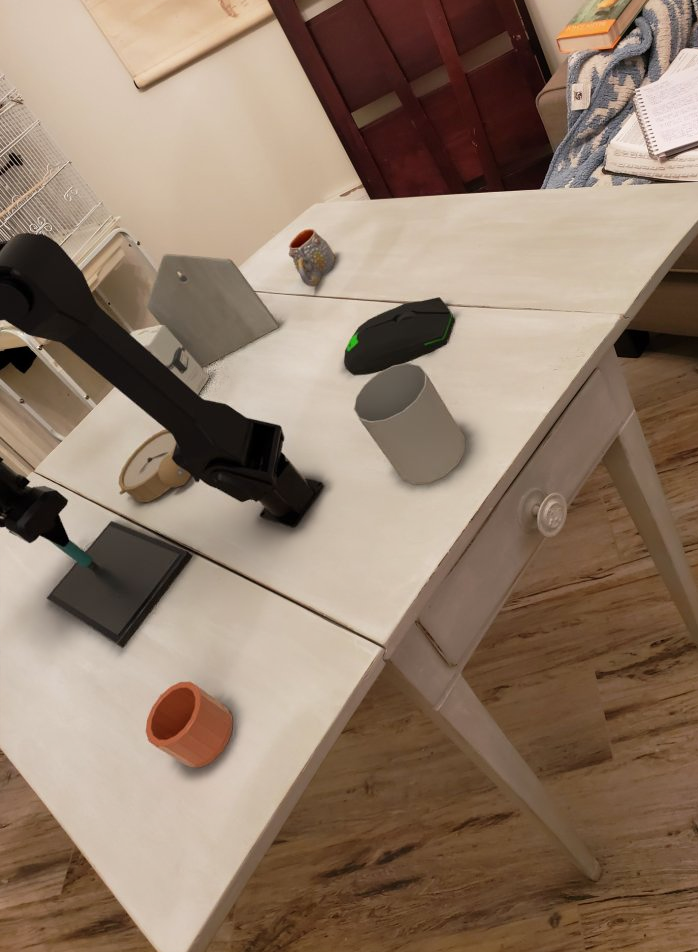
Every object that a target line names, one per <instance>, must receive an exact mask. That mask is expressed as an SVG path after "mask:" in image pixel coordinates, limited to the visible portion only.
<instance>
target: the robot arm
mask: <svg viewBox="0 0 698 952" xmlns="http://www.w3.org/2000/svg"><path fill="white" fill-rule="evenodd" d="M0 321H5V322H7V323H8V324H10V325H11V326H13V327H14V328H16V329H17V330H19V331H21V332H23V333H24V334H26V335H27V336H30V337H35V338H39V339H44V340H48V341H53V342H57V343H60V344H62V345H63V346H65V347H66V348H67V349H68V350H70V351H71V352H72V353H73V354H75V355H76V356H77V357H78V358H80V360H82V361H83V362H84V363H85V364H87V365H88V366H89V367H90V368H91V369H93V370H94V371H95V372H96V373H97V374H99V375H100V376H101V377H103V379H105V380H106V381H107V382H109V384H110V385H112V386H113V387H114V388H116V389H117V390H118V391H119V392H120V393H121V394H123V395H124V396H125V397H127V398H128V400H130V401H131V402H133V403H134V404H135V405H136V406H137V407H138V408H140V409H141V410H142V411H143V412H144V413H146V414H147V415H148V416H149V417H151V419H153V420H154V421H155V422H157V424H159V425H160V426H161V427H163V428H164V430H165V429H166V430H168V431H169V432H170V433H171V434H172V435H173V437H174V439H175V441H176V446H175V449H174V452H173V455H172V460H173V461H174V462H175V463H176V465H178V466H179V467H181V468H183V469H184V470H186V471H187V472H189V473H190V474H191V477H192V478H193V480H194V481H195V482H196V483H199V482H200V480H201V481H202V482H203V483H204V484H205V485H207V486H208V487H211V488H214V489H217V490H218V491H221V492H222V493H224V494H226V495H227V496H229V497H231V498H232V499H235V500H237V501H238V502H239V503H245V502H247V501H253V502H255V503H257V502H259V503H260V504H261V505H262V506H263V509H262V510H261V512H260V513H259V518H261V519H262V520H264V521H267V522H271V523H274V524H278V525H282V526H284V527H288V528H291V529H294V528H296V527H297V526H298V525H299V523H300V522H301V521H302V519H303V518H304V516H306V513H307V512H308V511H309V509H310V508H311V506H312V505H313V504H314V502H315V501H316V499H317V498H318V496H319V495H320V494H321V492H322V491H323V489H324V487H325V484H324V483H323V482H322V481H319V480H315V479H310V478H306V477H304V476H303V475H302V474H301V473H300V471H299V470H298V469H297V468H296V466H295V465H294V464H293V463H292V461H290V459H289V458H288V457H287V455H285V454H284V453H283V446H284V442H285V434H284V431H283V428H282V425H280V424H276V423H272V422H267V421H263V420H258V419H254V418H251V417H250V418H249V417H247V416H244V414H242V413H241V412H239V411H237V410H236V409H234V408H233V407H232V406H230V405H229V404H227V403H223V402H218V401H214V400H209V399H204V398H202V397H201V396H200V395H199V394H198V395H197V394H196V393H195V392H194V391H193V390H192V389H191V388H190V387H188V386H187V385H186V384H185V383H184V382H183V381H182V380H181V379H179V378H178V377H177V376H176V375H175V374H174V373H173V372H172V371H171V370H169V369H168V368H167V367H166V366H165V365H164V364H163V363H162V362H160V361H159V360H158V359H157V358H156V357H155V356H154V355H153V354H152V353H150V352H149V351H148V350H147V349H146V348H145V347H144V346H143V345H141V344H140V343H139V342H138V341H137V340H136V339H135V338H134V337H133V336H131V335H130V334H131V333H129V332H128V330H126V329H125V328H124V327H123V326H122V325H120V323H118V322H117V321H116V320H115V319H114V318H112V316H110V315H109V314H108V313H107V312H106V311H105V310H104V309H102V308H101V306H100V305H99V303H97V301H96V298H95V297H94V294H93V292H92V290H91V288H90V286H89V283H88V282H87V279H86V277H85V275H84V273H83V271H82V270H81V269H80V268H79V266H78V265H77V263H75V261H74V260H73V259H72V258H71V257H70V255H68V254H67V252H66V251H65V249H63V247H62V246H61V245H60V244H59V243H58V242H57V241H55V240H54V239H53V238H51V237H50V236H47V235H45V234H43V233H39V234H38V233H32V232H23V233H17V234H16V235H14V236H12V237H10V239H8V240H1V241H0ZM4 460H5V459H4V458H3V457H1V456H0V528H5V529H6V530H7V531H8V533H10V534H11V535H13V536H14V537H17V538H19V539H20V540H23V541H24V542H26V543H28V544H31V543H34V542H35V541H36V540H37V539H39V537H42V538H43V539H45V540H47V541H49V540H50V541H52V542H54V543H56V544H58V545H60V546H62V547H65V546H66V545H67V544H68V543H69V541H70V540H71V539H70V538H69V535H68V533H67V530H66V528H65V525H64V523H63V522H62V518H61V516H60V514H61V512H62V511H63V510H64V509H65V508H66V507H67V506H68V503H69V499H68V498H66V496H64V495H63V494H61V492H59V491H58V490H57V489H54V488H51V487H49V486H46V485H39V486H32V487H31V486H29V484H30V483H31V480H30V479H28V478H27V477H26V476H24V475H21V474H20V473H17V472H15V471H14V469H12V468H11V467H9V466H8V465H7V464H6V463H5V462H4ZM50 541H49V542H50Z"/></svg>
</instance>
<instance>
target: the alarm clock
mask: <svg viewBox="0 0 698 952" xmlns="http://www.w3.org/2000/svg"><path fill="white" fill-rule="evenodd" d="M175 446H176V441H175V439H174V437H173V435H172V434H171V433H170V432H169V431H168V430H166V429H165V428H164V429H162V430H160V431H159V432H156V433H154V434H153V435H152V436H150V437H149V438H147V439H146V440H145V441H143V443H141V444H140V445H139V446H138V447H137V448H136V449H135V450H134V452H132V454H131V455H130V456H129V457H128V459H127V460H126V462H125V464H124V465H123V467H122V469H121V471H120V473H119V476H118V485H119V488H120V489H121V490H120V491H119V495H120V496H121V495H123V494H125V493H126V494H128V495H129V496H130V497H131V498H133V499H134V501H136V502H139V503H147V502H151V501H154V500H155V499H157V498H159V497H161V496H163V494H165V493H166V492H168V491H169V490H170V489H171V488H179V487H181V486H184V485H185V484H186V483H187V482H188V481H189V480H190V478H191V477H192V475H191V474H190V473H189V472H187V471H186V470H184V469H183V468H181V467H179V466H178V465H176V463H175V462H174V461H173V460H172V455H173V452H174V449H175Z"/></svg>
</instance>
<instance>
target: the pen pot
mask: <svg viewBox="0 0 698 952" xmlns="http://www.w3.org/2000/svg"><path fill="white" fill-rule="evenodd" d="M233 722H234V721H233V716H232V713H231V711H230V710H229V709H228V708H227V706H226V705H224V704H223V703H221V701H218V699H216V698H215V697H213V696H212V695H210V694H209V693H208V692H207V691H205V690H204V689H202V688H201V687H199V686H198V685H197V684H195V683H194V682H191V681H180V682H178V683H176V684H173V685H172V686H169V687H168V688H166V690H165V691H164V692H163V693H162V694H160V696H159V697H158V698H157V699H156V701H155V703H154V704H153V705H152V707H151V709H150V711H149V714H148V716H147V719H146V725H145V733H146V737H147V740H148V742H149V743H150V744H152V746H154V747H156V748H157V749H159V750H160V751H162V752H164V753H166V754H168V755H169V756H170V757H172V758H174V759H175V760H176V761H179V762H180V763H182V764H183V765H185V766H188V767H190V768H194V769H195V768H203V767H205V766H207V765H210V764H211V763H212V762H213V761H214V760H216V759H217V758H218V757H219V756H220V755H221V753H222V752H223V751H224V750H225V748H226V747H227V745H228V743H229V741H230V738H231V736H232V732H233V725H234V723H233Z"/></svg>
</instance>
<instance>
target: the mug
mask: <svg viewBox="0 0 698 952" xmlns="http://www.w3.org/2000/svg"><path fill="white" fill-rule="evenodd" d="M288 248H289V251H288V256H289V257H290V258H292V263H294V264H293V265H294V267H295V269H296V272H298V274H299V277H300V278H301V281H302V282H303V284H304V285H306V286H308V287H315V286H317V285H318V283H319V282H320V280H321V279H322V277H324V276H325V275H326V274H328V273H329V272H330V271H331V270H332V268H333V266H334V264H335V258H336V255H335V254H334V252H333V249H332V248H331V246H330V245H329V243H328V242H327V241H326V240H325V239H324V238H323V237H322V236H321V235H319V234H318V233H317V232H316V230H315V229H313V228H307V229H304V230H302V231H300V232H298V234H297V235H296V236H295V237H294V238H293V239H292V240H291V241H290V243H289V245H288Z"/></svg>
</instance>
